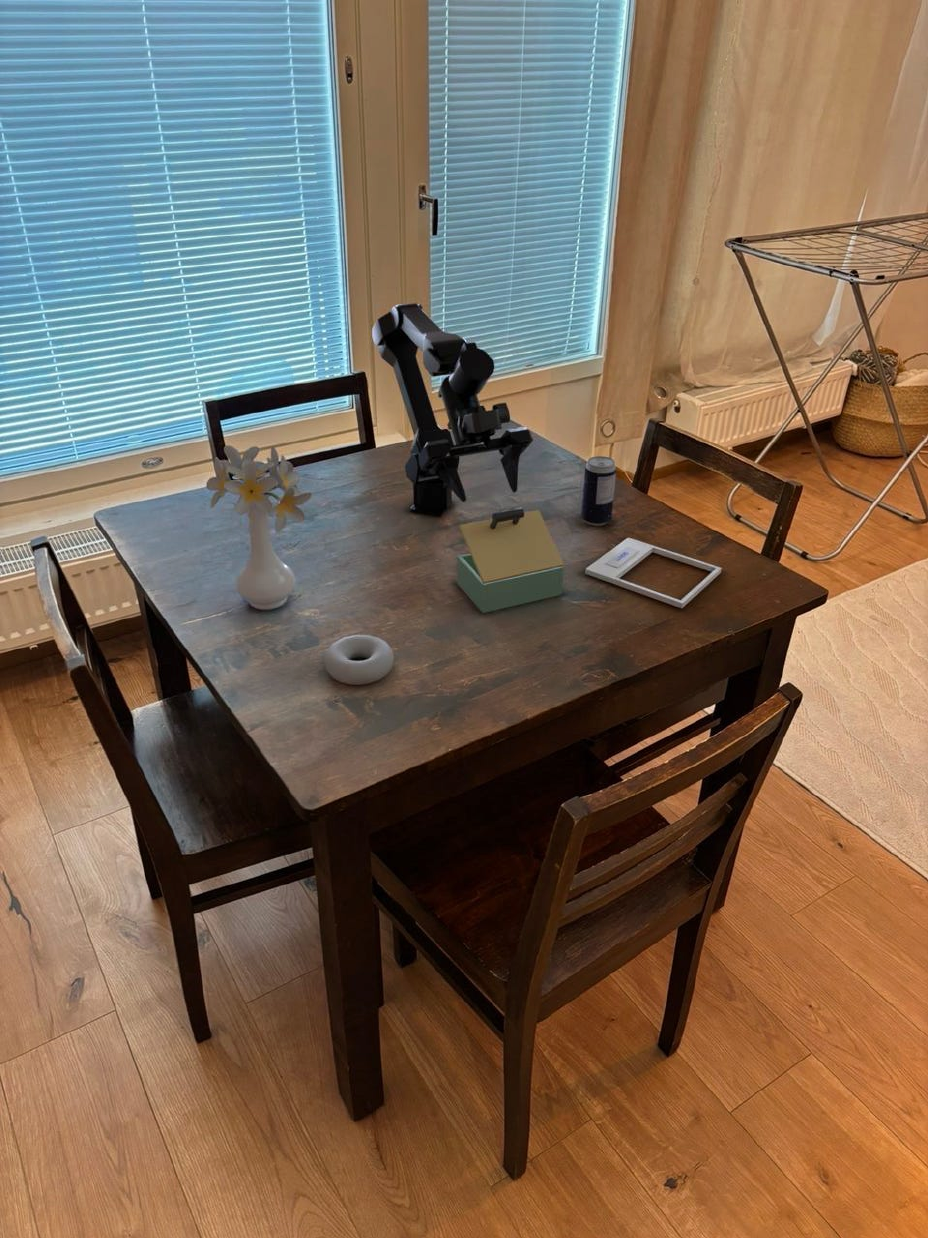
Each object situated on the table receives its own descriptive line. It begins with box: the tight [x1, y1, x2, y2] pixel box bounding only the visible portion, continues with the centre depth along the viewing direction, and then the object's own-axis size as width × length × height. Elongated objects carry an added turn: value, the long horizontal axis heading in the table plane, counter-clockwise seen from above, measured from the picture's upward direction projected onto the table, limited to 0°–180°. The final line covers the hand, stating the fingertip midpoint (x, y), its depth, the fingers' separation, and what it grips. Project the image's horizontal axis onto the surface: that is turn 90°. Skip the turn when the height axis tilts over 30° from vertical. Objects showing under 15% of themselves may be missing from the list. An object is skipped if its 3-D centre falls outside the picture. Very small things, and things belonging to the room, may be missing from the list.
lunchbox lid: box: [459, 507, 565, 584], centre depth 145 cm, size 11×14×4 cm
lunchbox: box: [456, 553, 564, 614], centre depth 150 cm, size 10×14×5 cm
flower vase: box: [205, 445, 312, 611], centre depth 141 cm, size 13×18×25 cm
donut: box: [323, 634, 395, 686], centre depth 132 cm, size 10×4×10 cm
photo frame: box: [584, 537, 723, 609], centre depth 156 cm, size 15×1×18 cm
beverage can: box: [580, 455, 617, 527], centre depth 170 cm, size 6×6×12 cm
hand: (490, 496), depth 151 cm, fingers open, 9 cm apart
